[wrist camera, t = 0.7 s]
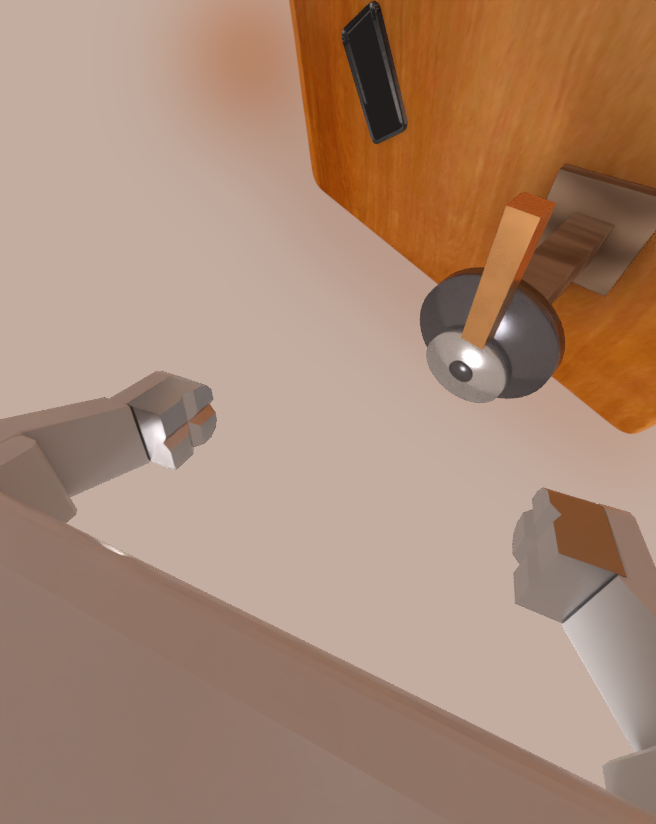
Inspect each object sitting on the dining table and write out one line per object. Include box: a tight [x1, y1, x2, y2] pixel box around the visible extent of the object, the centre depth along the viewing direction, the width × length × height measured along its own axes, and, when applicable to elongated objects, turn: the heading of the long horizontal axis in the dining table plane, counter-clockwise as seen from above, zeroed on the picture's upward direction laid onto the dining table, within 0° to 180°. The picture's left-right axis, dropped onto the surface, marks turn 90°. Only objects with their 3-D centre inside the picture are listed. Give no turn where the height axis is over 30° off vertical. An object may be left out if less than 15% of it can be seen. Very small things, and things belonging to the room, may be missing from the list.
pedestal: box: [420, 164, 656, 399], centre depth 42 cm, size 16×16×26 cm
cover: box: [426, 192, 557, 403], centre depth 35 cm, size 24×10×2 cm, turn 8°
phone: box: [342, 1, 407, 144], centre depth 53 cm, size 8×1×15 cm
